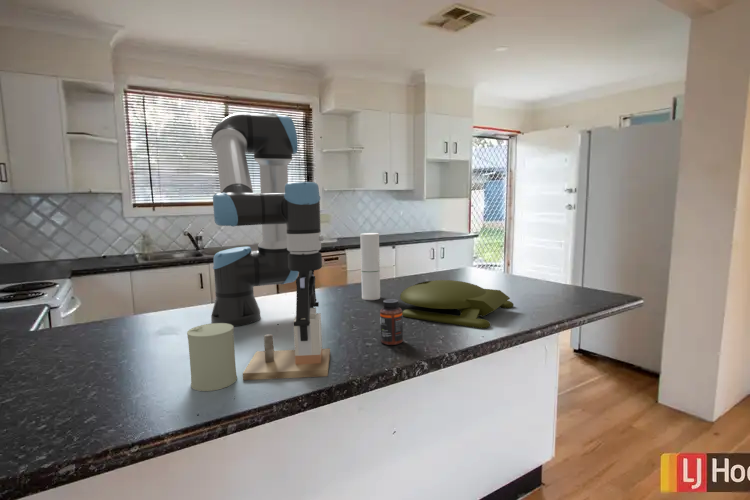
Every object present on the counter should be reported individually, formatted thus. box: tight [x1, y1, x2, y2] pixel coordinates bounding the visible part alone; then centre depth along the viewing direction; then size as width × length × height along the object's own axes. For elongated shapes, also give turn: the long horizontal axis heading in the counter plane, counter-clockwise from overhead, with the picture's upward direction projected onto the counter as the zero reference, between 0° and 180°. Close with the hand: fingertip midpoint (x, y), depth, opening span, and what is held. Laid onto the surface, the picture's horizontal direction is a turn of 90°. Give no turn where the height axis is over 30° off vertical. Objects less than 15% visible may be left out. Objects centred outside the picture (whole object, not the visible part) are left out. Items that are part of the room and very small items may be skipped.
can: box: [186, 322, 238, 392], centre depth 87 cm, size 9×9×12 cm
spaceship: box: [399, 279, 514, 329], centre depth 140 cm, size 35×31×10 cm
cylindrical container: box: [359, 232, 381, 301], centre depth 159 cm, size 7×7×25 cm
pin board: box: [242, 333, 331, 381], centre depth 95 cm, size 18×13×8 cm
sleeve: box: [293, 312, 323, 364], centre depth 95 cm, size 6×6×10 cm
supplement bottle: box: [379, 298, 404, 346], centre depth 110 cm, size 6×6×11 cm
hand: (308, 343), depth 95 cm, fingers open, 13 cm apart
